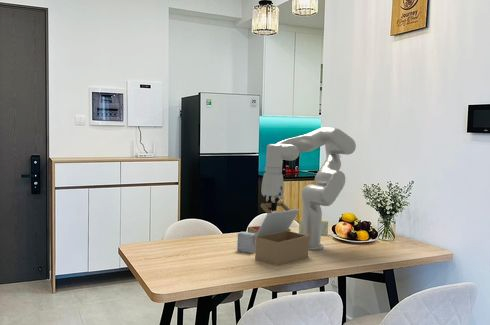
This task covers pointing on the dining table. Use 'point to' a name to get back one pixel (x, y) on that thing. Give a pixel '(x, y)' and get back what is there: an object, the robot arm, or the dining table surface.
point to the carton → (281, 247)
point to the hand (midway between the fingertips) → (271, 210)
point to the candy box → (323, 227)
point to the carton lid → (276, 219)
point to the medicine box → (246, 242)
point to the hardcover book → (255, 230)
